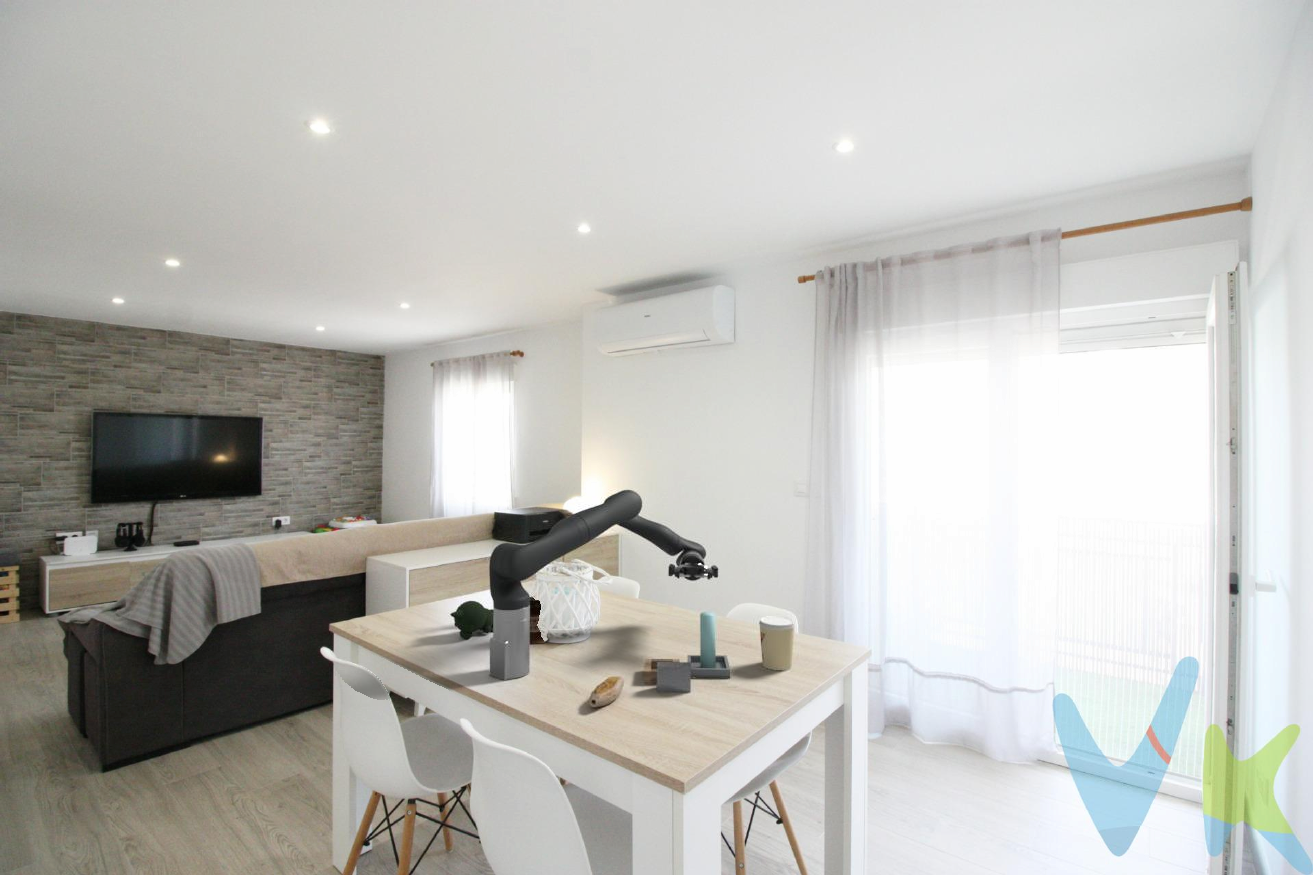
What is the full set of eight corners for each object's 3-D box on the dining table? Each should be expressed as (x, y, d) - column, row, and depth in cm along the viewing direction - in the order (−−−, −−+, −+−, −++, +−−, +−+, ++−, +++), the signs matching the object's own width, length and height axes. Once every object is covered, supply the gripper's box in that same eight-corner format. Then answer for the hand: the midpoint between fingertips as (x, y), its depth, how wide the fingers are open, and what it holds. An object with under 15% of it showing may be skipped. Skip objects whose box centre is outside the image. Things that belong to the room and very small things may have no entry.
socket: (679, 683, 148) (679, 671, 148) (643, 683, 148) (643, 671, 148) (679, 670, 157) (679, 658, 157) (645, 670, 157) (645, 658, 157)
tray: (730, 677, 152) (730, 669, 152) (688, 677, 152) (688, 669, 152) (726, 663, 163) (726, 655, 163) (687, 662, 163) (687, 654, 163)
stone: (581, 710, 133) (581, 690, 133) (611, 687, 146) (612, 669, 146) (601, 714, 131) (602, 694, 131) (630, 691, 144) (631, 673, 144)
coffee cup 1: (545, 646, 176) (545, 602, 177) (519, 644, 178) (519, 600, 178) (556, 637, 185) (556, 595, 185) (531, 635, 187) (531, 593, 187)
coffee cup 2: (764, 657, 167) (764, 614, 167) (798, 662, 163) (798, 618, 163) (755, 668, 159) (754, 622, 159) (790, 674, 155) (790, 627, 155)
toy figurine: (498, 626, 201) (437, 640, 180) (502, 569, 203) (442, 576, 182) (519, 631, 197) (459, 645, 175) (523, 572, 199) (464, 579, 177)
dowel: (710, 671, 155) (710, 617, 155) (697, 668, 157) (697, 614, 157) (718, 667, 158) (718, 613, 158) (705, 663, 160) (705, 611, 161)
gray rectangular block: (690, 692, 143) (690, 666, 143) (657, 691, 143) (657, 666, 143) (690, 687, 146) (690, 662, 146) (657, 686, 146) (657, 661, 146)
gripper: (669, 552, 183) (668, 560, 167) (715, 554, 183) (719, 562, 167) (668, 577, 183) (667, 588, 167) (715, 578, 182) (719, 589, 166)
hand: (693, 575), depth 167 cm, fingers open, 8 cm apart
